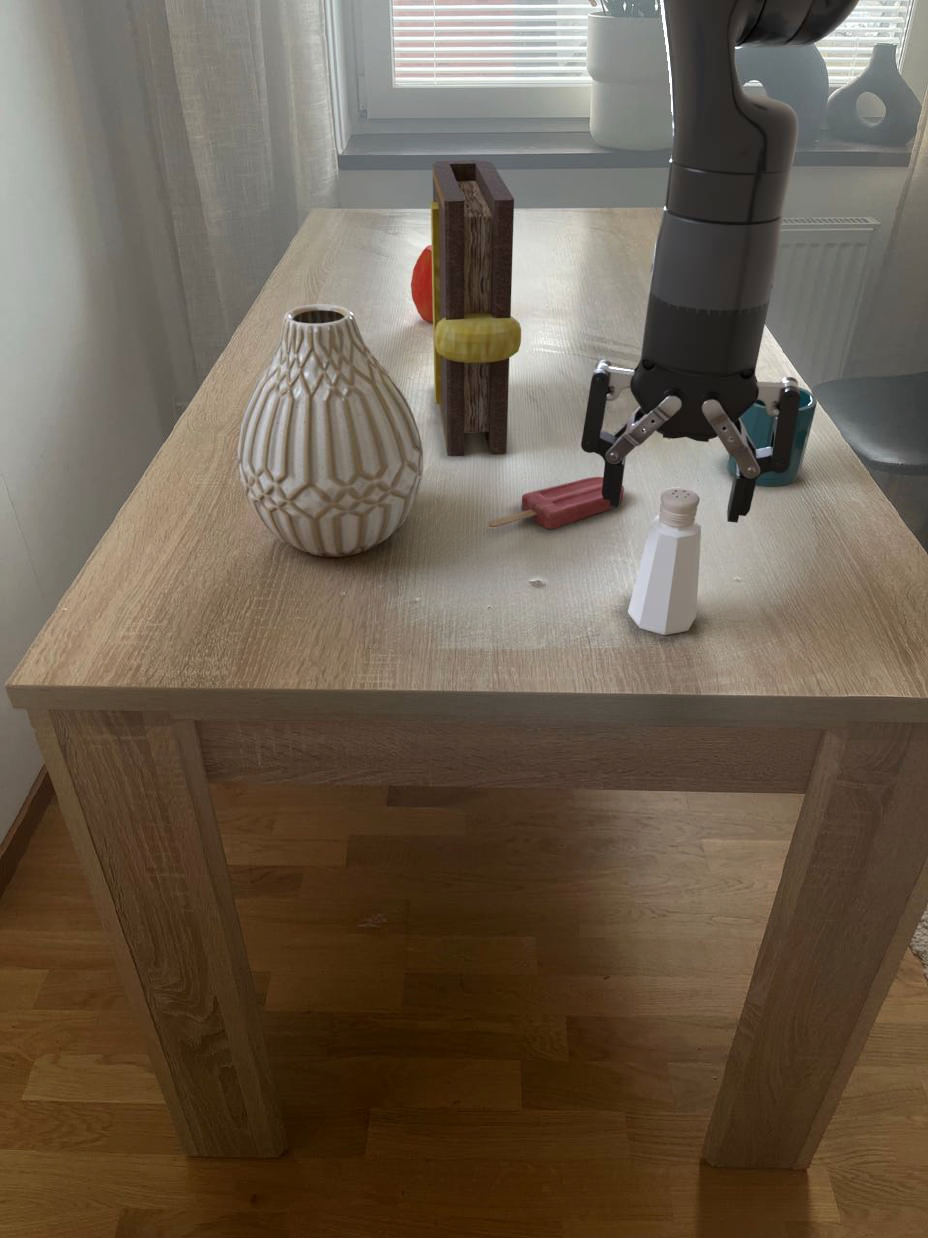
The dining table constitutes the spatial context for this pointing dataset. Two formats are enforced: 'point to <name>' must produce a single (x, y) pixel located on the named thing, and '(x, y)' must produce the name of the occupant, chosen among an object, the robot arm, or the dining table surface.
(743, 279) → the robot arm
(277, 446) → the vase
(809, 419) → the cup
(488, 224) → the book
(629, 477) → the dining table surface
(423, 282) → the apple
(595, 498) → the popsicle
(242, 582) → the dining table surface
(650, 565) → the pepper shaker
